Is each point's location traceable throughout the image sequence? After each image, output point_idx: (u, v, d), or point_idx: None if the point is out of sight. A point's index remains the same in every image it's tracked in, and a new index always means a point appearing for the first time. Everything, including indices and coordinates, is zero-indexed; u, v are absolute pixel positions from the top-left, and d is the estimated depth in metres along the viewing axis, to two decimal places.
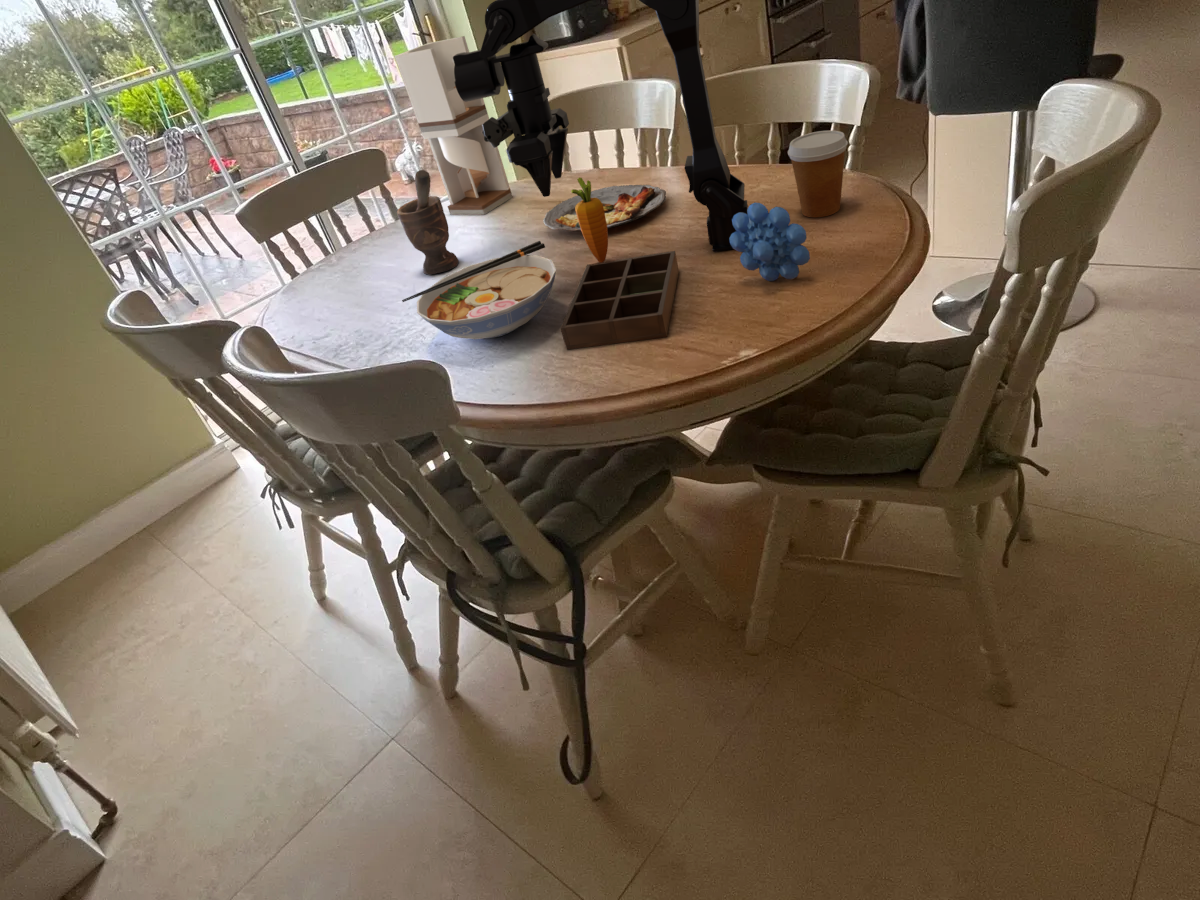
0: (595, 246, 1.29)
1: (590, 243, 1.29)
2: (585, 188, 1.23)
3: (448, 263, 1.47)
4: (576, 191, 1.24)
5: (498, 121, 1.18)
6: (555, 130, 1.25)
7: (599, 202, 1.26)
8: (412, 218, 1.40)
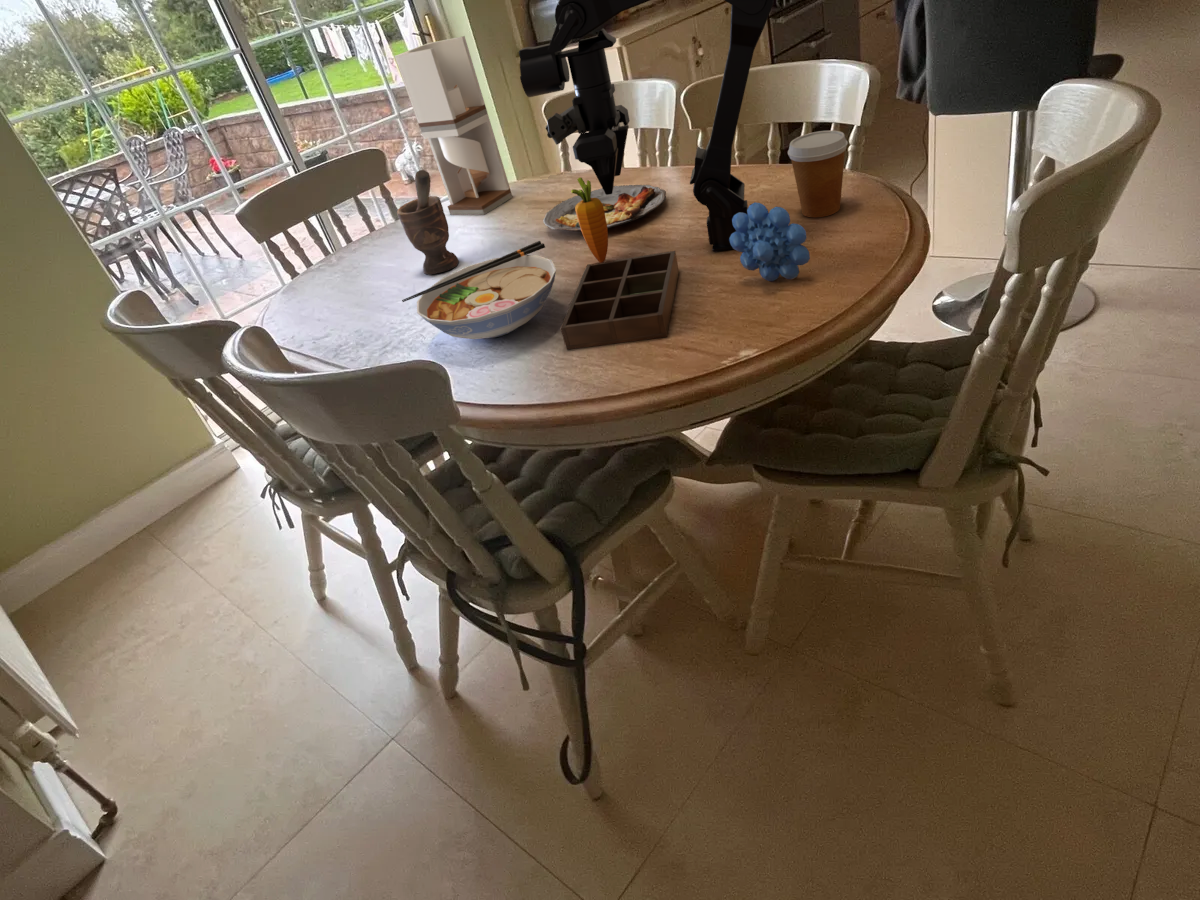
0: (595, 246, 1.29)
1: (590, 243, 1.29)
2: (585, 188, 1.23)
3: (448, 263, 1.47)
4: (576, 191, 1.24)
5: (563, 117, 1.16)
6: (616, 127, 1.23)
7: (599, 202, 1.26)
8: (412, 218, 1.40)
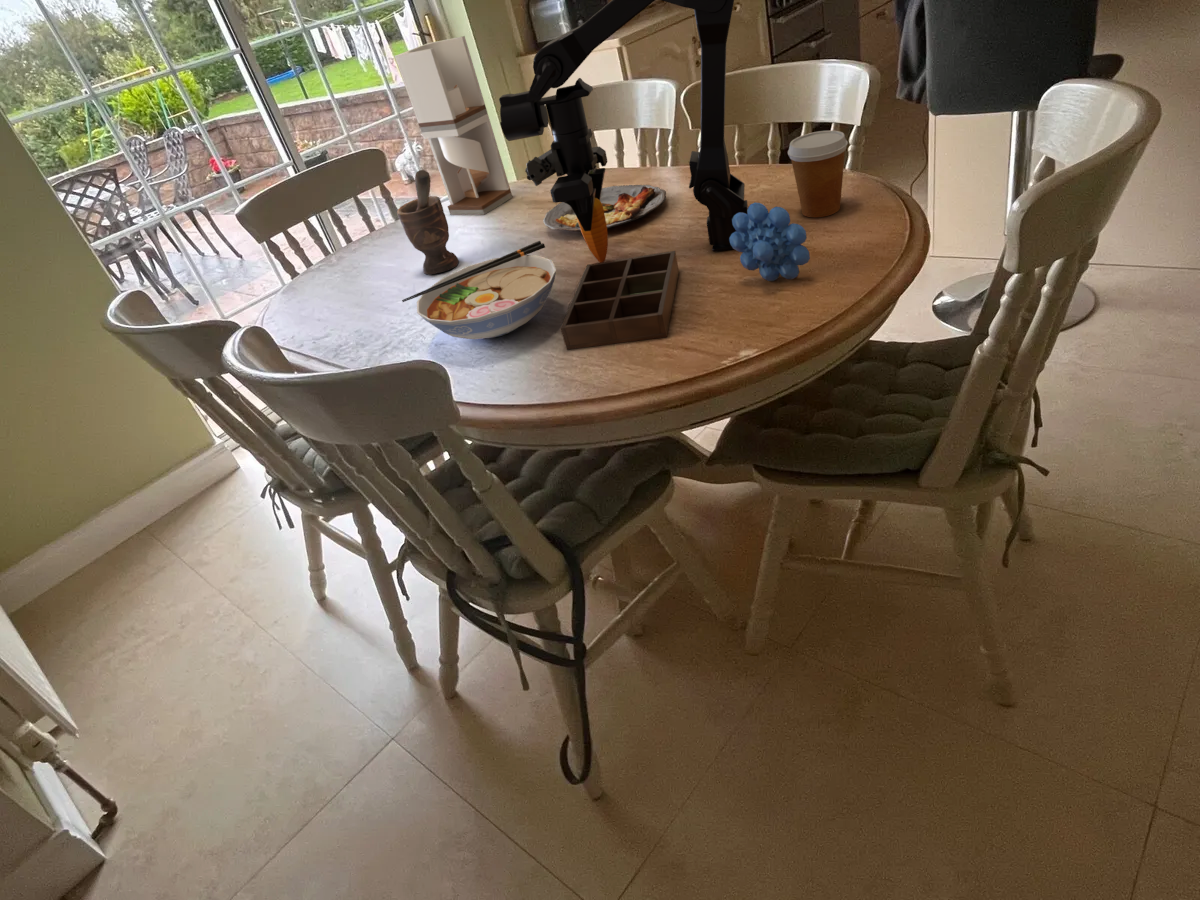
0: (595, 246, 1.29)
1: (590, 243, 1.29)
2: None
3: (448, 263, 1.47)
4: None
5: (541, 161, 1.20)
6: (593, 170, 1.27)
7: (598, 202, 1.26)
8: (412, 218, 1.40)
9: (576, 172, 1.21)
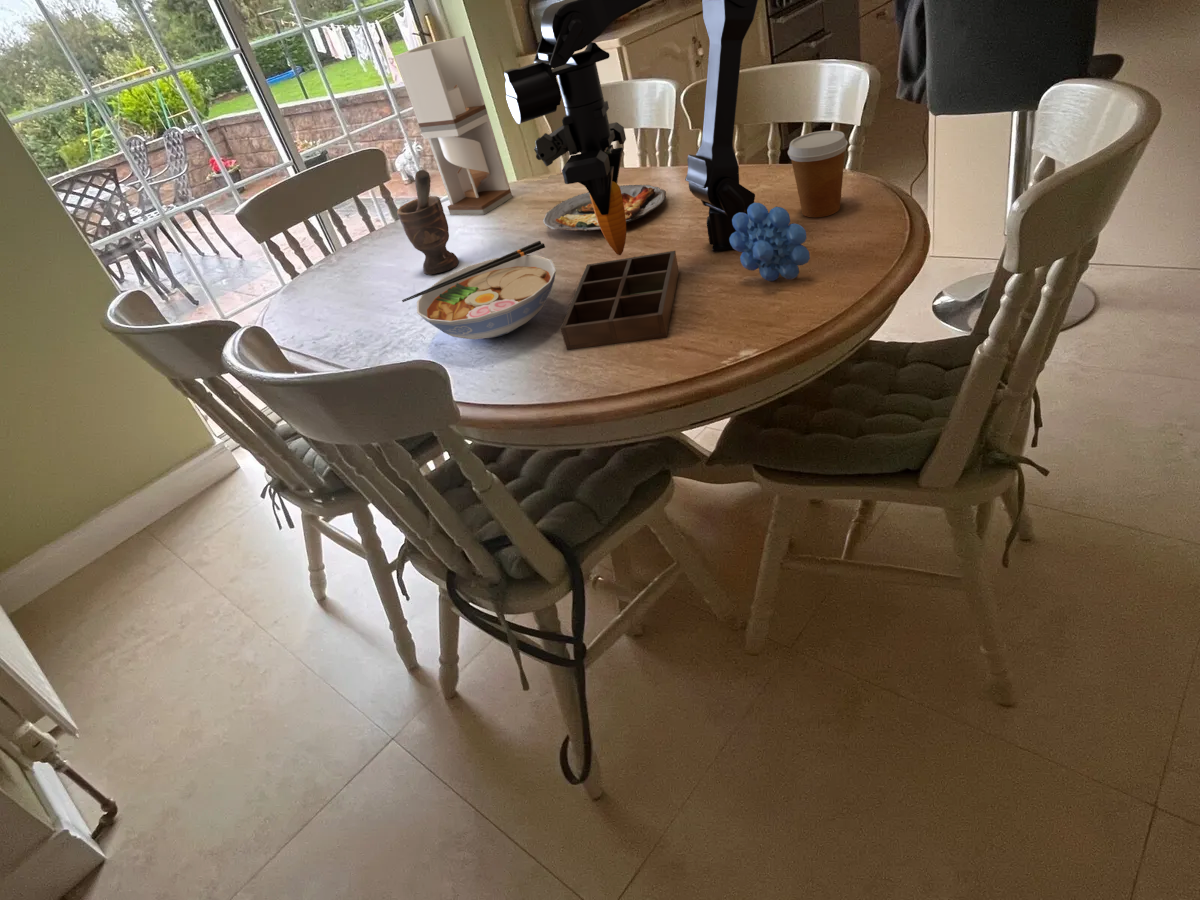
0: (612, 235, 1.16)
1: (606, 231, 1.16)
2: None
3: (448, 263, 1.47)
4: None
5: (552, 138, 1.08)
6: (609, 150, 1.14)
7: (616, 185, 1.13)
8: (412, 218, 1.40)
9: (591, 150, 1.08)
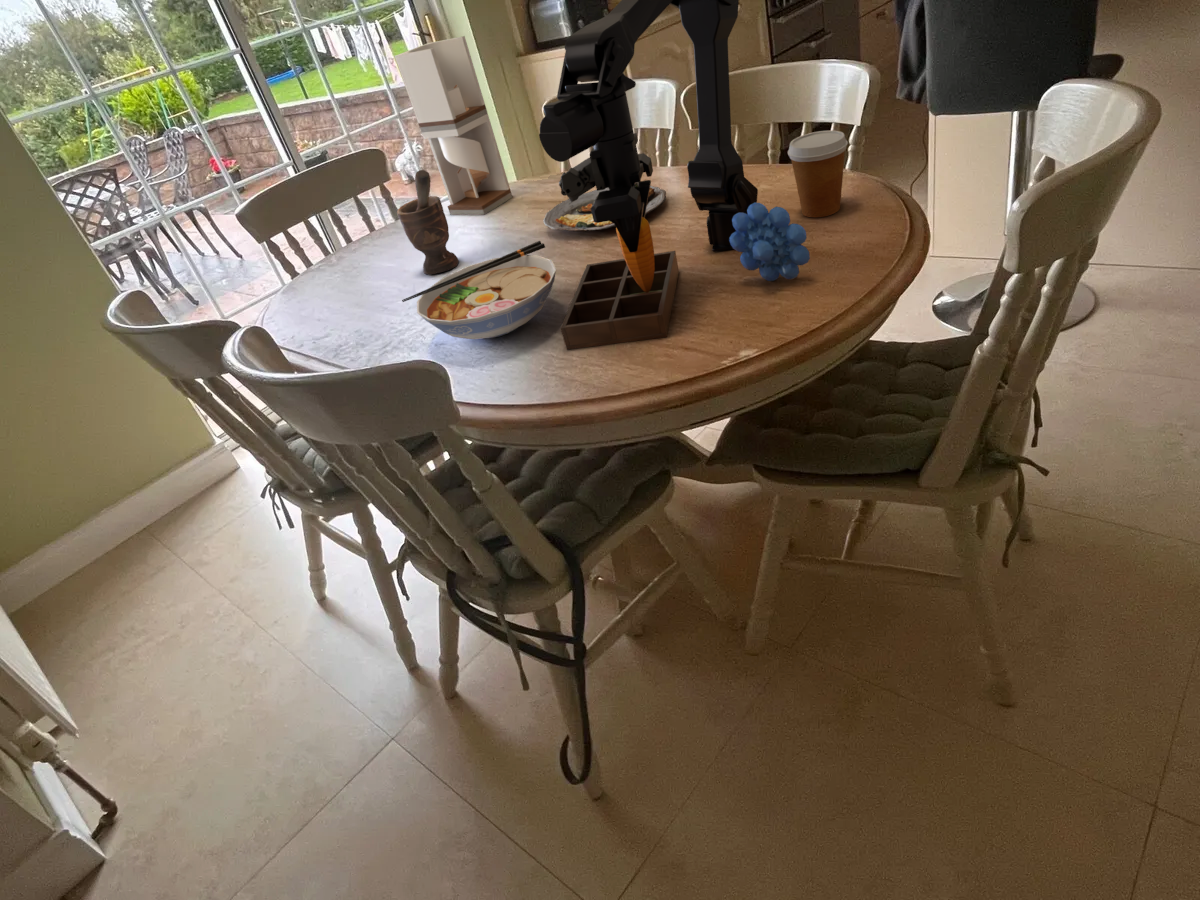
0: (640, 272, 1.09)
1: (634, 269, 1.09)
2: None
3: (448, 263, 1.47)
4: None
5: (578, 172, 1.01)
6: (637, 183, 1.07)
7: (645, 221, 1.06)
8: (412, 218, 1.40)
9: (620, 185, 1.01)
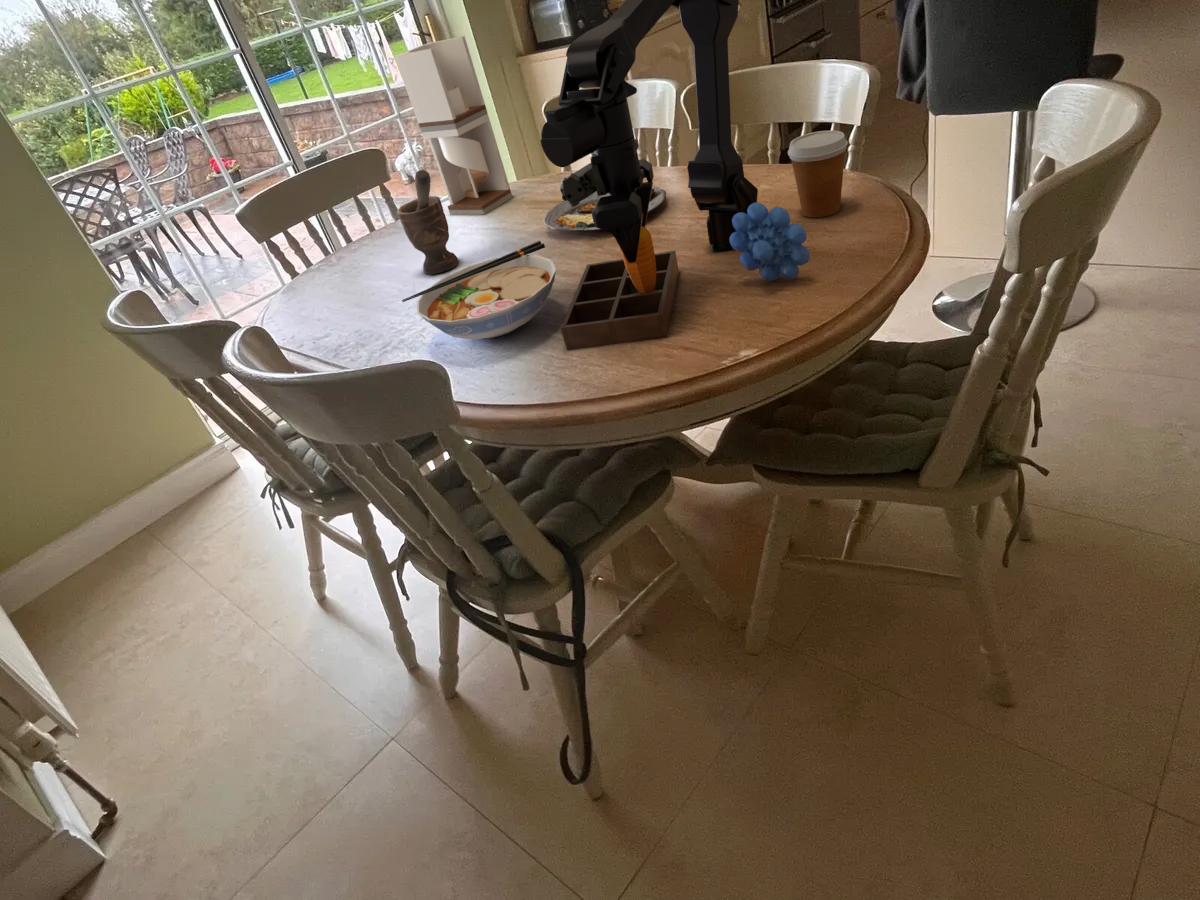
0: (642, 282, 1.10)
1: (636, 279, 1.10)
2: None
3: (448, 263, 1.47)
4: None
5: (579, 178, 1.02)
6: None
7: (646, 231, 1.07)
8: (412, 218, 1.40)
9: (621, 191, 1.02)
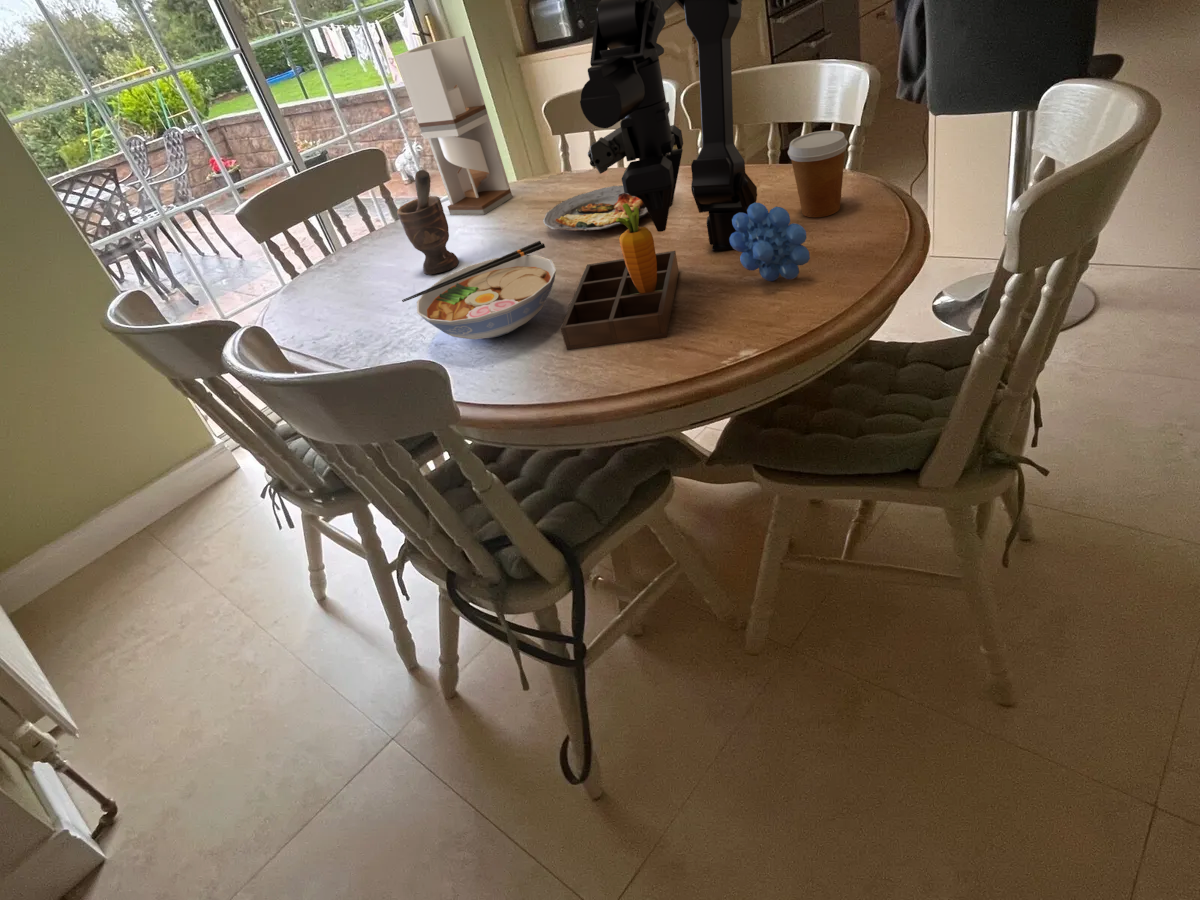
0: (642, 283, 1.10)
1: (636, 279, 1.10)
2: (633, 216, 1.04)
3: (448, 263, 1.47)
4: (622, 220, 1.05)
5: (608, 142, 0.98)
6: (669, 151, 1.06)
7: (648, 232, 1.07)
8: (412, 218, 1.40)
9: (651, 156, 0.98)
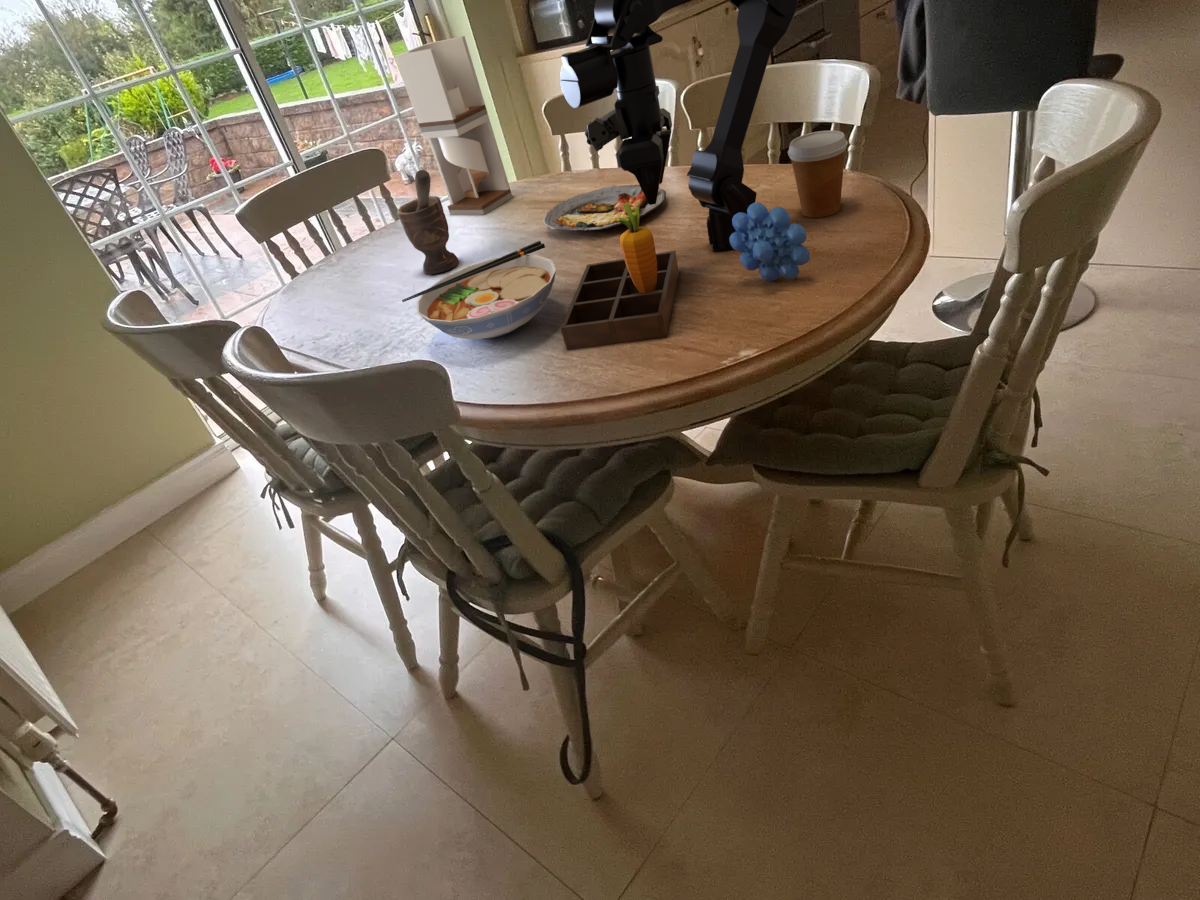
0: (643, 283, 1.10)
1: (637, 279, 1.10)
2: (634, 216, 1.04)
3: (448, 263, 1.47)
4: (622, 220, 1.05)
5: (604, 122, 1.08)
6: (659, 132, 1.15)
7: (649, 232, 1.07)
8: (412, 218, 1.40)
9: (642, 134, 1.08)
